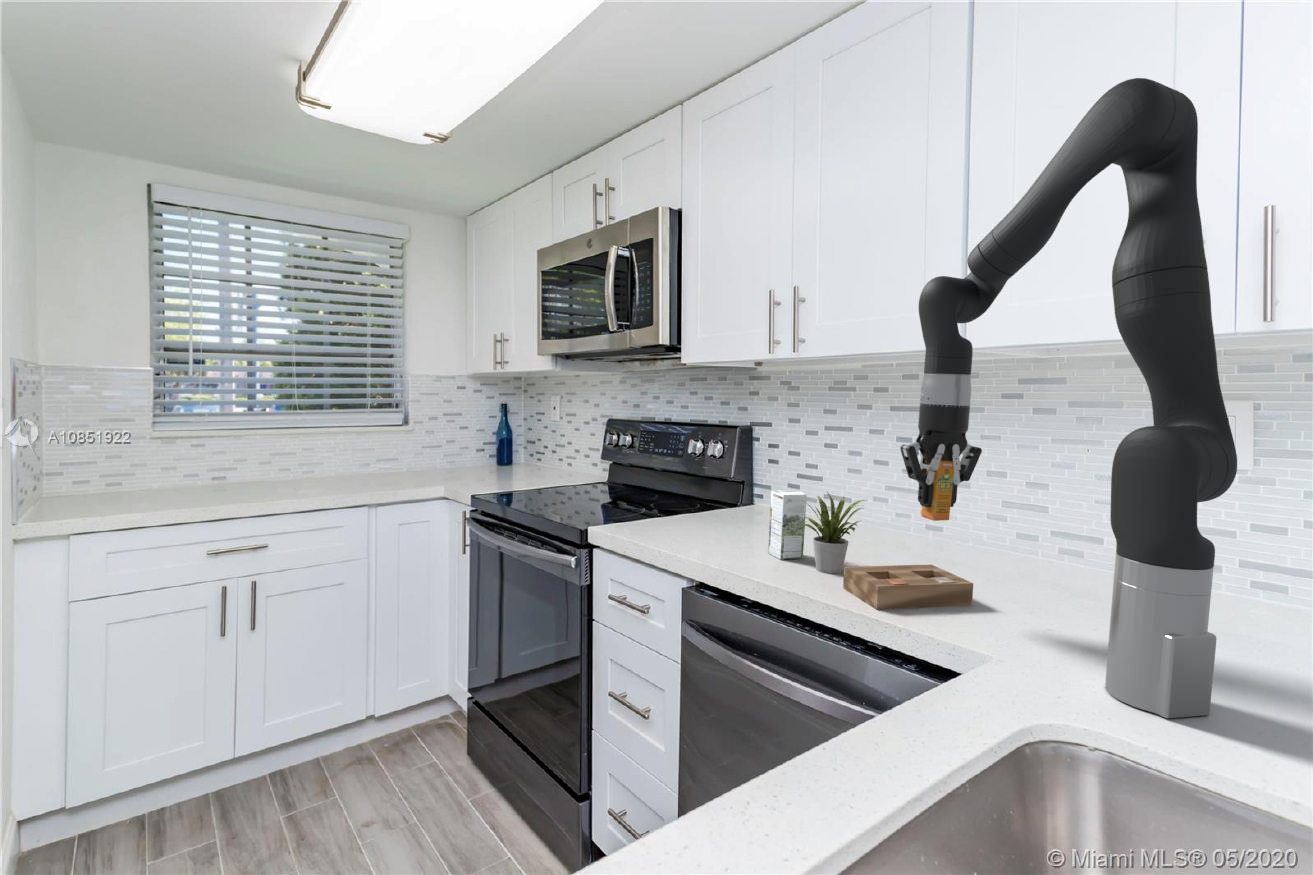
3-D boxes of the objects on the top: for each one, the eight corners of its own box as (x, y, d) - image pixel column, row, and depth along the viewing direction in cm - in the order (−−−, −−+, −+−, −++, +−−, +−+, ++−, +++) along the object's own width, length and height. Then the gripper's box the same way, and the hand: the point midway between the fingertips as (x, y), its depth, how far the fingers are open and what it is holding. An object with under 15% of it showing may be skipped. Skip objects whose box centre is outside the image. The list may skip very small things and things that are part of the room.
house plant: (886, 573, 131) (890, 493, 129) (845, 585, 122) (849, 499, 121) (827, 558, 142) (831, 484, 141) (786, 567, 133) (789, 489, 132)
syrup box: (790, 552, 146) (793, 488, 145) (804, 559, 141) (807, 493, 140) (767, 553, 144) (770, 489, 143) (780, 560, 139) (783, 493, 138)
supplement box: (934, 521, 105) (938, 460, 104) (920, 516, 109) (924, 457, 108) (951, 520, 106) (956, 460, 105) (937, 516, 109) (941, 457, 108)
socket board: (971, 605, 112) (973, 582, 112) (876, 609, 109) (878, 585, 108) (930, 585, 124) (931, 563, 123) (843, 587, 120) (844, 565, 120)
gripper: (918, 402, 101) (910, 511, 102) (999, 404, 103) (990, 511, 105) (892, 400, 108) (885, 501, 110) (968, 402, 110) (960, 501, 112)
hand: (936, 505), depth 107 cm, fingers closed on supplement box, 3 cm apart
